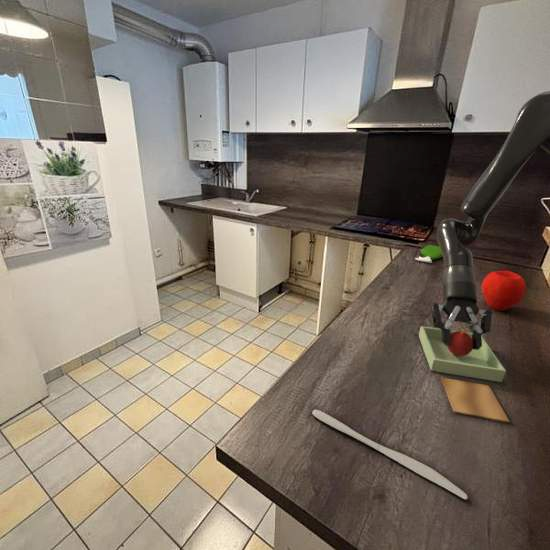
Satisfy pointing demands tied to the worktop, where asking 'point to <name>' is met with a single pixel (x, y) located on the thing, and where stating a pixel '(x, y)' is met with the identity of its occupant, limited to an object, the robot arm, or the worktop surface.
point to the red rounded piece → (460, 343)
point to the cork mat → (473, 400)
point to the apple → (503, 289)
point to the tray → (460, 357)
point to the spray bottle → (430, 253)
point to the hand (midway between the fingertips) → (461, 346)
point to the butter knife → (393, 455)
